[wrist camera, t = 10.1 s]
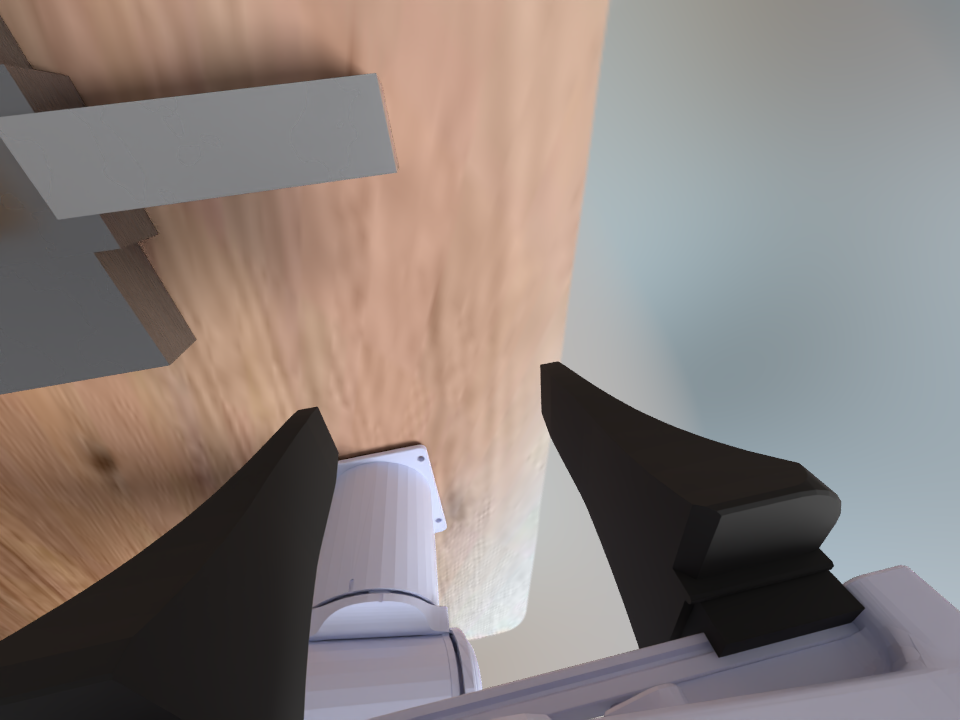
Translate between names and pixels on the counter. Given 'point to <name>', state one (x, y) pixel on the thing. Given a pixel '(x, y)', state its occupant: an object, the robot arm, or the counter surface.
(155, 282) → the grey mounting plate
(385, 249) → the counter surface
